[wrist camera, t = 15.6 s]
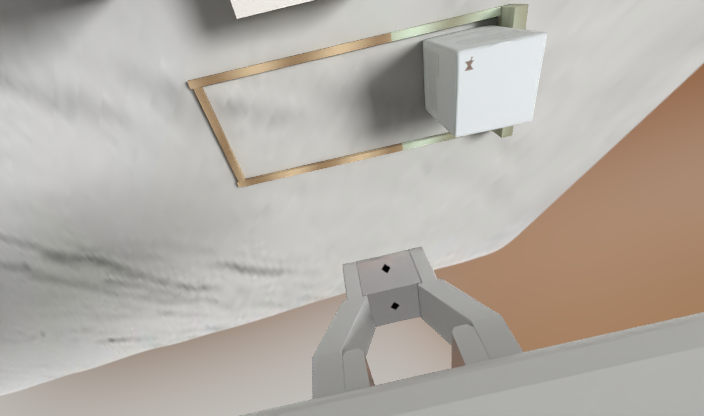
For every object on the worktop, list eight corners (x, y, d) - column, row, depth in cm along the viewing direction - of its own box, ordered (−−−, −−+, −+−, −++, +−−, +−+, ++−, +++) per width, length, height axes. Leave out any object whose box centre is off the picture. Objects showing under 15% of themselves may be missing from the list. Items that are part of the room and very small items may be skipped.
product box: (423, 110, 28) (452, 139, 22) (421, 38, 25) (455, 50, 19) (486, 97, 28) (533, 123, 22) (493, 23, 25) (551, 30, 19)
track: (240, 185, 31) (235, 198, 29) (188, 80, 25) (178, 87, 23) (499, 126, 30) (512, 135, 28) (510, 3, 24) (528, 4, 22)
